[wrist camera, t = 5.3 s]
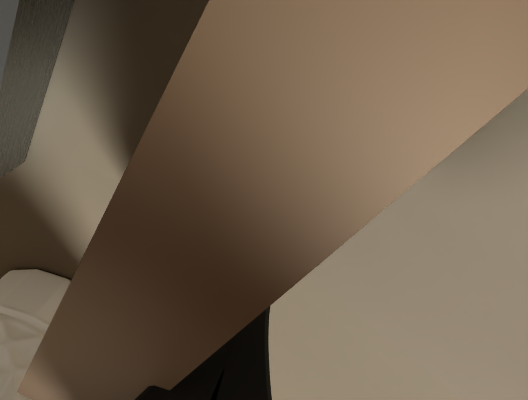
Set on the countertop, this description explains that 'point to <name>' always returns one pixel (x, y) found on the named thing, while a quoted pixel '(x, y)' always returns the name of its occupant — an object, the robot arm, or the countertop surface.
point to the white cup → (24, 322)
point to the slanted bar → (26, 69)
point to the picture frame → (268, 172)
